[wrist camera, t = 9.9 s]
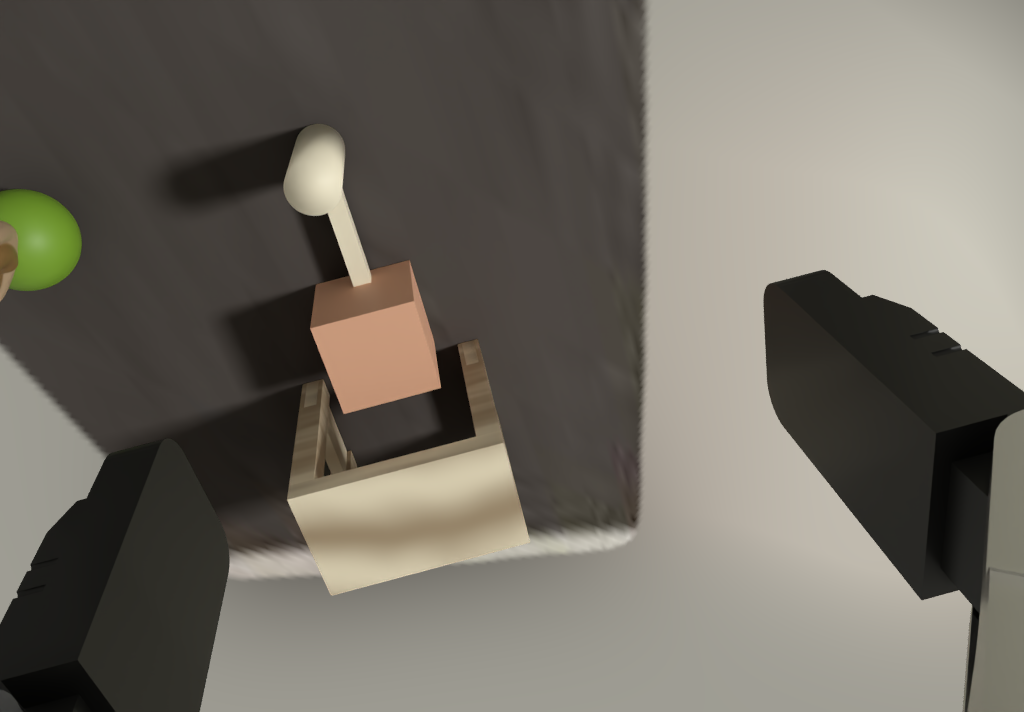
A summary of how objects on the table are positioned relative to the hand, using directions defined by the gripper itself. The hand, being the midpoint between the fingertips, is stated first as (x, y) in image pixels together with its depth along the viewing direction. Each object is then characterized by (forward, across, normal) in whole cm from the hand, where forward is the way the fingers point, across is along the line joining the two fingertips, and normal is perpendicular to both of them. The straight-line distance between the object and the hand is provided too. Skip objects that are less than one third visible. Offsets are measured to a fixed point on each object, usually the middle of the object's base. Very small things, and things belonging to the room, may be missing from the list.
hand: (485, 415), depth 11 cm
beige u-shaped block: (+38, +6, +24) cm, 45 cm away
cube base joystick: (+38, +6, +11) cm, 40 cm away
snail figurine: (+38, +22, +5) cm, 44 cm away
